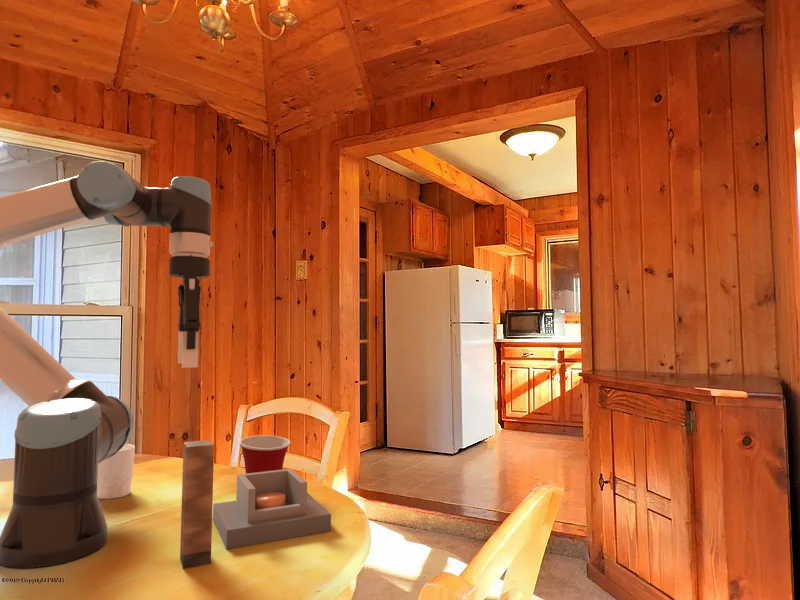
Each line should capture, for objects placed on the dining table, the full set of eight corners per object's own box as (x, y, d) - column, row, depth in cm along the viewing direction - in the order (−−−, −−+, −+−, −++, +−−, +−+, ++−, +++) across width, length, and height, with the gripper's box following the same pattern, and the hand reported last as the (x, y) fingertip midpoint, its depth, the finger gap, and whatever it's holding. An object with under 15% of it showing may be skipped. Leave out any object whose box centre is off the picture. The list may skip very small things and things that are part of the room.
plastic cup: (256, 507, 108) (258, 447, 109) (227, 496, 115) (229, 439, 116) (299, 495, 116) (300, 439, 117) (270, 485, 123) (271, 432, 124)
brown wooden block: (182, 568, 80) (186, 447, 81) (180, 558, 84) (183, 442, 85) (210, 563, 82) (214, 444, 83) (206, 553, 86) (210, 439, 87)
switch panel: (226, 549, 88) (227, 496, 88) (212, 519, 101) (214, 474, 101) (330, 531, 96) (331, 482, 96) (305, 506, 109) (306, 463, 110)
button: (259, 513, 95) (259, 502, 95) (253, 505, 100) (253, 494, 100) (288, 509, 97) (288, 498, 97) (281, 501, 102) (281, 490, 102)
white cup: (140, 489, 119) (142, 444, 120) (118, 501, 111) (120, 452, 112) (107, 488, 120) (109, 443, 121) (83, 499, 112) (85, 451, 113)
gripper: (217, 249, 96) (214, 368, 95) (203, 264, 119) (201, 361, 117) (172, 247, 93) (168, 370, 92) (167, 262, 115) (164, 361, 114)
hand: (187, 365), depth 105 cm, fingers open, 13 cm apart
